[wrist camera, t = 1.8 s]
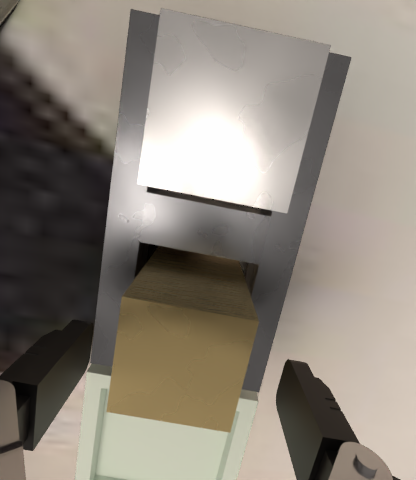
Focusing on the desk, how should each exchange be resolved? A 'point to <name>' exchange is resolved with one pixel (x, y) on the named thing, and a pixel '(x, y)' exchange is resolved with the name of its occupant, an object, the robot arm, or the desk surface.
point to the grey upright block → (229, 110)
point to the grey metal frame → (201, 210)
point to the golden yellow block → (183, 341)
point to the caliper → (6, 9)
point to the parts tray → (155, 441)
